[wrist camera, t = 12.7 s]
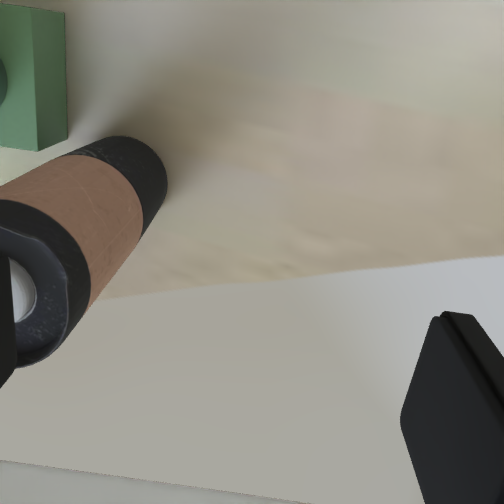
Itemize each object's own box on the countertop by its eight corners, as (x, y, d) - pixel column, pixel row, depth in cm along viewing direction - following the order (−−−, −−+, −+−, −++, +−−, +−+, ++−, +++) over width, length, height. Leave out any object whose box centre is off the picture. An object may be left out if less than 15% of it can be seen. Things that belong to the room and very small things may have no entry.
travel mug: (73, 210, 40) (-103, 350, 22) (83, 120, 37) (-112, 192, 19) (162, 233, 40) (64, 389, 22) (179, 146, 37) (82, 241, 19)
